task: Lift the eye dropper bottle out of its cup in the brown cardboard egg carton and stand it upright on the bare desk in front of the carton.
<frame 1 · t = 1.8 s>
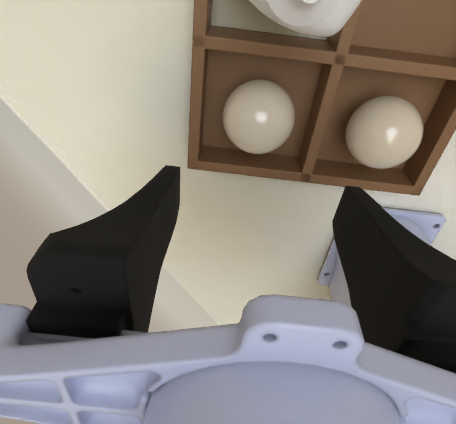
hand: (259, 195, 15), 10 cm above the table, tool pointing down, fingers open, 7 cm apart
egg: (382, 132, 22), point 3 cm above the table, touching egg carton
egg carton: (331, 47, 21), on the table
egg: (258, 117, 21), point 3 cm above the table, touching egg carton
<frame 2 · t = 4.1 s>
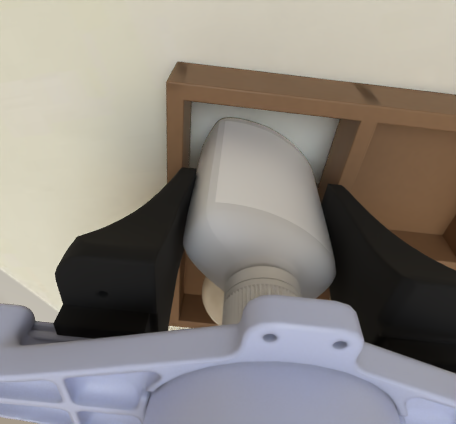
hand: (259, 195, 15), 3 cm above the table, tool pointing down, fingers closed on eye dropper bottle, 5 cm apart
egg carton: (313, 221, 21), on the table
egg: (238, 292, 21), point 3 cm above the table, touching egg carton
eye dropper bottle: (257, 154, 18), resting in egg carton, touching gripper
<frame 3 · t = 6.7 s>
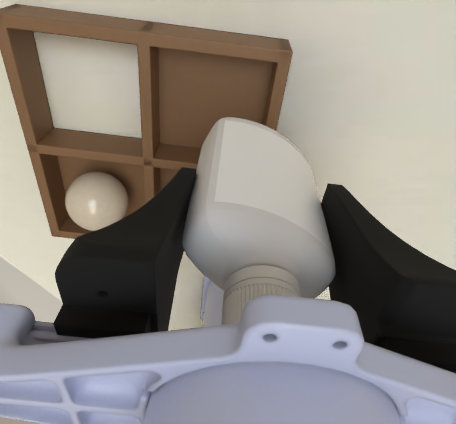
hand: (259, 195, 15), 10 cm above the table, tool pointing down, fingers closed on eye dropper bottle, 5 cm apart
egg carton: (156, 144, 26), on the table
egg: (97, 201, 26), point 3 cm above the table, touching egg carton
eye dropper bottle: (257, 153, 18), point 7 cm above the table, touching gripper
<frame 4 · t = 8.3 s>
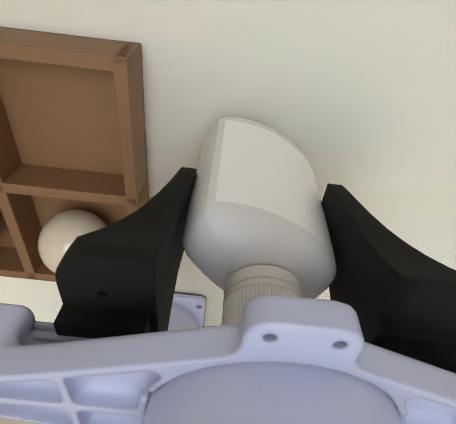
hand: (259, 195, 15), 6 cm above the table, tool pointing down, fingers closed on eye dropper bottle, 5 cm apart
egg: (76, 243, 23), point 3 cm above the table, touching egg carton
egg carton: (20, 164, 22), on the table
eye dropper bottle: (257, 153, 18), point 3 cm above the table, touching gripper
when the fingers open (3 cm above the table, at t = 9.6 s): eye dropper bottle stays where it is, on the table.
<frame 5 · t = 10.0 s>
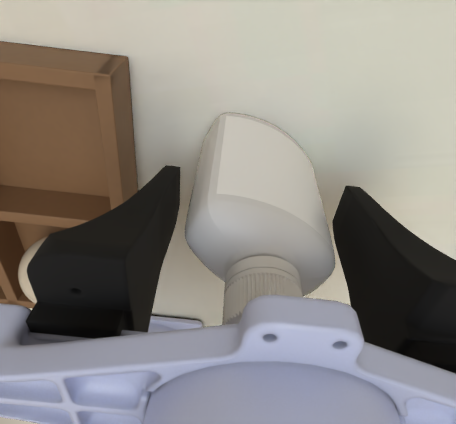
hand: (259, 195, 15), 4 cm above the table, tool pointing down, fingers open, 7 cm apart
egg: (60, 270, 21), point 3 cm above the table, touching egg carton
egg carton: (0, 185, 20), on the table
eye dropper bottle: (257, 149, 18), on the table
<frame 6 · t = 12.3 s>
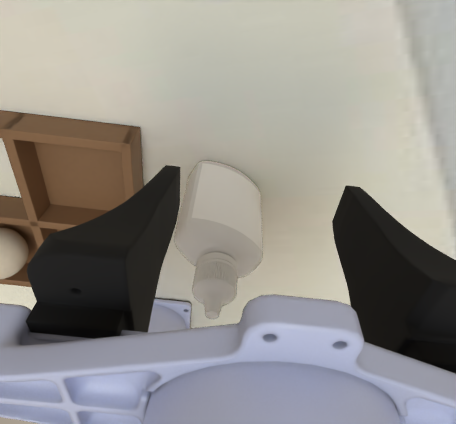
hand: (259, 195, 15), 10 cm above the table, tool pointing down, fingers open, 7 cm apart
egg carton: (49, 204, 30), on the table
eye dropper bottle: (225, 182, 28), on the table
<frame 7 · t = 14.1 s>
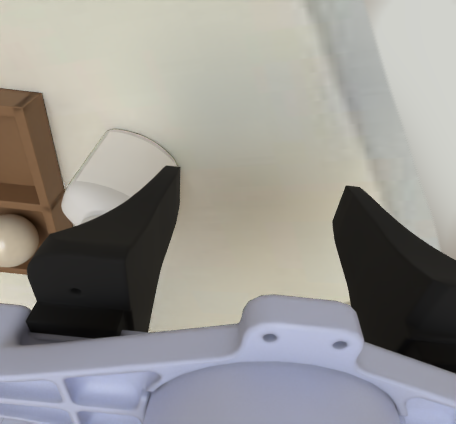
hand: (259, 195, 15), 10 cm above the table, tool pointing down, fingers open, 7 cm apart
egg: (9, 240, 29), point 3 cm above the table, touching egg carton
eye dropper bottle: (140, 153, 27), on the table
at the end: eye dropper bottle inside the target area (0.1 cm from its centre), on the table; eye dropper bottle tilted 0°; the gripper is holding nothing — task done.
